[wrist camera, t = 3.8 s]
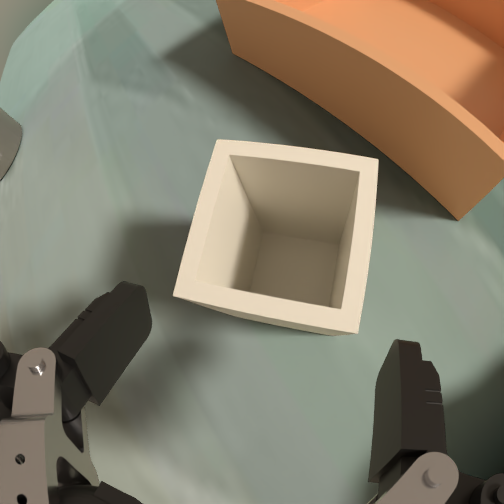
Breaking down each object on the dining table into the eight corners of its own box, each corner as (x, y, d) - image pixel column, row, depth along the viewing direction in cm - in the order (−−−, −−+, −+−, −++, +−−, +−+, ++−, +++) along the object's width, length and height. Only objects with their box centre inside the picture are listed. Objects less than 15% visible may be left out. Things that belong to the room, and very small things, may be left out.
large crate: (232, 53, 24) (212, -10, 17) (374, -22, 25) (376, -67, 19) (458, 220, 17) (512, 169, 11) (539, 83, 19) (565, 40, 12)
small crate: (333, 336, 17) (357, 333, 9) (235, 316, 18) (172, 295, 10) (349, 239, 18) (378, 159, 10) (256, 224, 20) (216, 139, 11)
